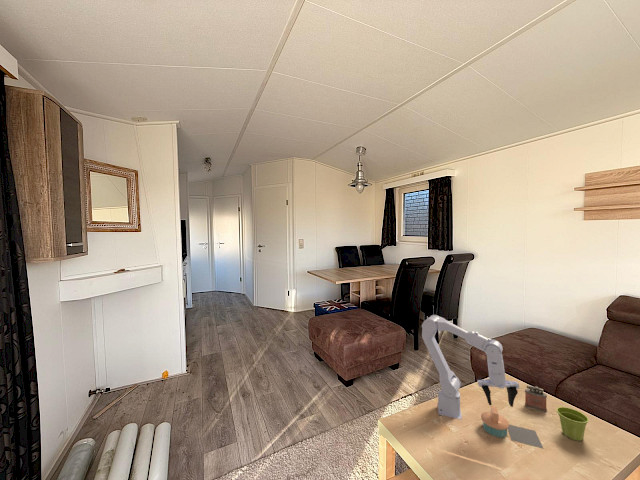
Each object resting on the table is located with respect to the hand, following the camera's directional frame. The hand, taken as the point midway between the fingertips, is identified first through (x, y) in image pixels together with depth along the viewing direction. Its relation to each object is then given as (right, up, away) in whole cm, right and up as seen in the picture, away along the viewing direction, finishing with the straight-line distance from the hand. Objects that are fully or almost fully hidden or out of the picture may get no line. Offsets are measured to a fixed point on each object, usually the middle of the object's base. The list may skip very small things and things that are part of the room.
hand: (500, 404), depth 108 cm
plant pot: (+28, -12, -2) cm, 30 cm away
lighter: (+27, -11, +15) cm, 33 cm away
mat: (+8, -12, -2) cm, 14 cm away
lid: (-2, -8, +1) cm, 8 cm away
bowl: (-2, -12, +1) cm, 12 cm away
